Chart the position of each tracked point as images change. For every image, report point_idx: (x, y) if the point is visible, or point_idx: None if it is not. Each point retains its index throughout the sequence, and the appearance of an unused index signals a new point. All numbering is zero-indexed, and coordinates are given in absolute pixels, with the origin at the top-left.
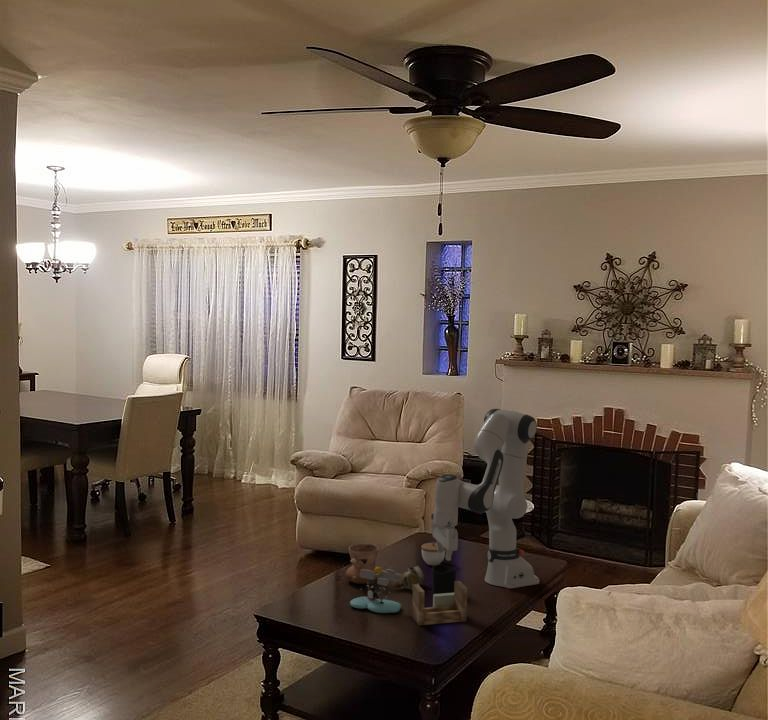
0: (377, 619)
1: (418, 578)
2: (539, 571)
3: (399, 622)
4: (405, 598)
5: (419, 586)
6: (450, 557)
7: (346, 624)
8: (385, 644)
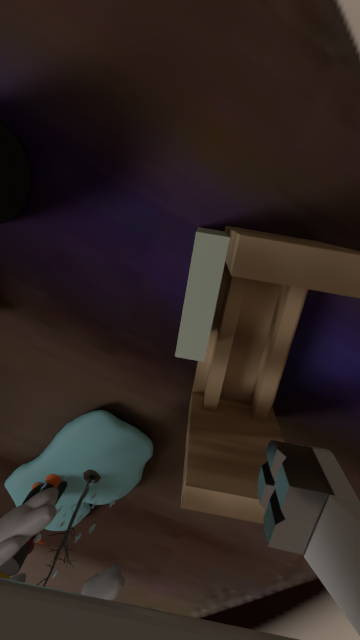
0: (168, 495)
1: None
2: None
3: None
4: (18, 351)
5: (225, 496)
6: (344, 485)
7: (171, 564)
8: None
